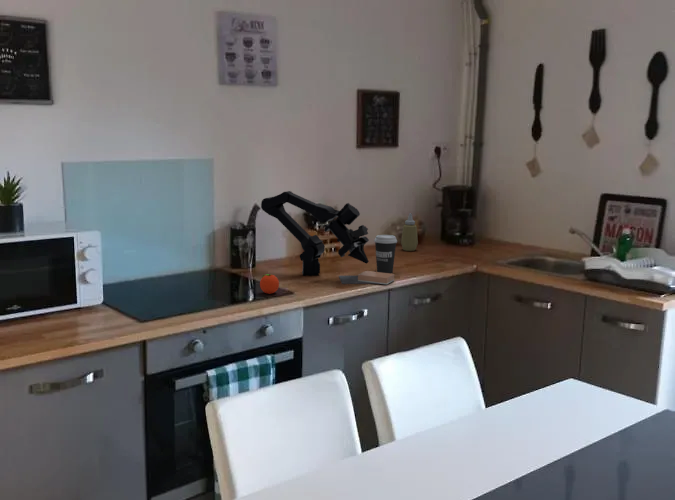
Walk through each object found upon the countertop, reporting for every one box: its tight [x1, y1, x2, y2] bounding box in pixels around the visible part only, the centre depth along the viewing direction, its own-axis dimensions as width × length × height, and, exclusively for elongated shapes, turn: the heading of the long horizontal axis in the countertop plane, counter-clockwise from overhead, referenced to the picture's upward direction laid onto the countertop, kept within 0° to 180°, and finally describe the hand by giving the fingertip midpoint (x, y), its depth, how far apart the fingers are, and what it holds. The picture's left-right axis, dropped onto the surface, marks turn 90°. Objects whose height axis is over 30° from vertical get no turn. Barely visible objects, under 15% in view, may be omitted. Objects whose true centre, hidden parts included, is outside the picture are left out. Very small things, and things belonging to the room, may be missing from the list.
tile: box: [357, 270, 395, 285], centre depth 272 cm, size 2×8×12 cm
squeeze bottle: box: [400, 212, 419, 252], centre depth 337 cm, size 8×8×18 cm
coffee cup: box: [373, 234, 398, 274], centre depth 288 cm, size 10×10×15 cm
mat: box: [338, 274, 379, 285], centre depth 275 cm, size 14×12×1 cm
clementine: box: [259, 273, 280, 295], centre depth 252 cm, size 8×7×7 cm
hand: (367, 262), depth 273 cm, fingers closed
